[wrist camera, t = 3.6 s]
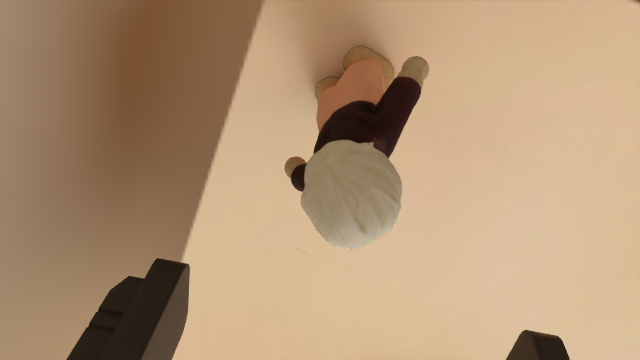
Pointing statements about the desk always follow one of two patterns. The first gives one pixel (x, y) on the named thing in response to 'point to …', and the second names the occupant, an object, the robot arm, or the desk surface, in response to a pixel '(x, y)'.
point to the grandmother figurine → (357, 148)
